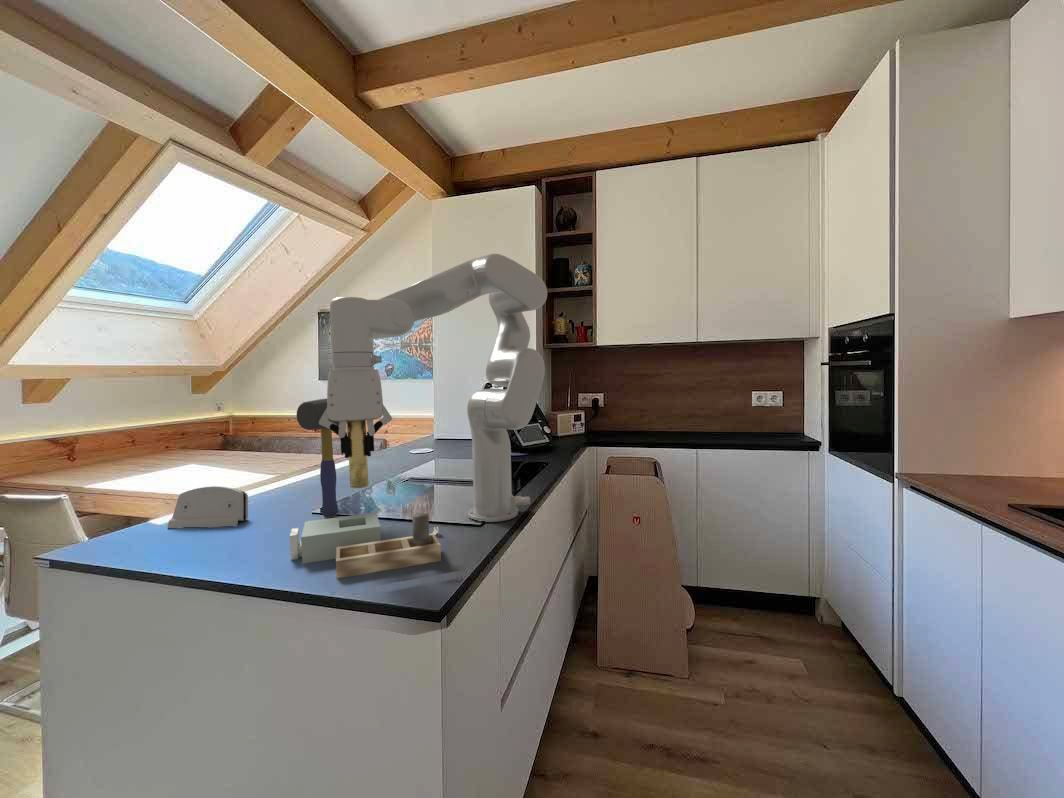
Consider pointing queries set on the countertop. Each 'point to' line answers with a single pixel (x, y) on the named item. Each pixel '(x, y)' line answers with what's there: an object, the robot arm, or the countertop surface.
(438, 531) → the adhesive hook
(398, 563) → the rack
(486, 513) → the robot arm
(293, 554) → the t-shaped push slider
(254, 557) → the countertop surface
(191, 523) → the grey rounded block
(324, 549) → the socket block
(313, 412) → the rubber mallet
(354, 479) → the gold cylindrical peg
